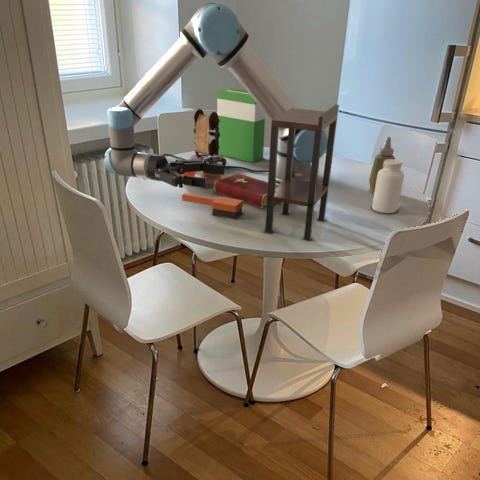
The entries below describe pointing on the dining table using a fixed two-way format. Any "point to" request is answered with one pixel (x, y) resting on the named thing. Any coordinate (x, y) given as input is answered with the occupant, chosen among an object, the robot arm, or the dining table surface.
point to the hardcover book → (244, 189)
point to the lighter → (211, 177)
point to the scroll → (206, 136)
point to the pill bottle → (388, 187)
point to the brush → (217, 204)
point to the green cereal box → (240, 125)
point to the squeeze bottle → (380, 162)
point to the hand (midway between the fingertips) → (214, 176)
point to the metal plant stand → (291, 188)
